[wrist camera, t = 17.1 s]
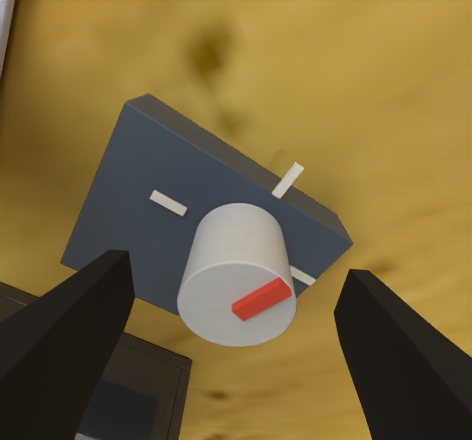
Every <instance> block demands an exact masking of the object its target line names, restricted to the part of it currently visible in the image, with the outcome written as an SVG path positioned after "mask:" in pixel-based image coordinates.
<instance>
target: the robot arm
mask: <svg viewBox="0 0 472 440" xmlns="http://www.w3.org/2000/svg"><path fill="white" fill-rule="evenodd" d="M14 2H15V0H0V79H1V73H2V68H3V62H4V57H5V51H6V46H7V40H8V35H9V30H10V24H11V19H12V13H13V8H14ZM134 299H135V291H134V284H133V277H132V270H131V263H130V256H129V251H125V250H113V249H110V250H108V251H107V252H105V253H104V254H102V255H101V256H99V257H98V258H96V259H95V260H93V261H92V262H91V263H89V264H88V265H86V266H85V267H84V268H82V269H81V270H79V271H78V272H77V273H75V274H74V275H72V276H71V277H69V278H68V279H66V280H65V281H64V282H62V283H61V284H59V285H58V286H56V287H55V288H53V289H52V290H51V291H49V292H47V293H46V294H44V295H43V296H41V297H40V298H38V299H37V300H35V301H33V302H32V303H30V304H29V305H27V306H26V307H24V308H22V309H21V310H19V311H18V312H16V313H15V314H13V315H11V316H10V317H8V318H6V319H5V320H3V321H1V322H0V440H74V439H75V436H76V434H77V431H78V429H79V426H80V423H81V421H82V418H83V415H84V413H85V411H86V408H87V406H88V404H89V401H90V399H91V397H92V395H93V393H94V391H95V389H96V386H97V384H98V382H99V380H100V378H101V376H102V374H103V372H104V370H105V368H106V366H107V364H108V362H109V360H110V358H111V355H112V353H113V351H114V349H115V347H116V345H117V343H118V341H119V339H120V337H121V335H122V332H123V330H124V328H125V326H126V323H127V320H128V317H129V315H130V312H131V309H132V305H133V302H134ZM334 317H335V322H336V327H337V332H338V337H339V341H340V345H341V348H342V351H343V354H344V357H345V360H346V363H347V365H348V368H349V371H350V374H351V377H352V380H353V383H354V386H355V389H356V391H357V394H358V397H359V400H360V403H361V406H362V409H363V412H364V414H365V417H366V421H367V424H368V427H369V430H370V434H371V437H372V440H472V358H471V357H470V356H469V355H467V354H466V353H465V352H464V351H462V350H461V349H460V348H459V347H457V346H456V345H455V344H454V343H452V342H451V341H450V340H449V339H447V338H446V337H445V336H444V335H443V334H441V333H440V332H439V331H438V330H437V329H435V328H434V327H433V326H432V325H431V324H429V323H428V322H427V321H426V320H425V319H424V318H422V317H421V316H420V315H419V314H418V313H417V312H415V311H414V310H413V309H412V308H411V307H410V306H409V305H408V304H406V303H405V302H404V301H403V300H402V299H401V298H400V297H399V296H397V295H396V294H395V293H394V292H393V291H392V290H391V289H390V288H388V287H387V286H386V285H385V284H384V283H383V282H382V281H380V280H379V279H378V278H377V277H376V276H375V275H373V274H372V273H371V272H370V271H368V270H358V269H349V272H348V275H347V277H346V280H345V283H344V286H343V288H342V291H341V294H340V297H339V299H338V302H337V305H336V308H335V310H334Z"/></svg>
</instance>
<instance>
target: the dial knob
mask: <svg viewBox="0 0 472 440" xmlns="http://www.w3.org/2000/svg"><path fill="white" fill-rule="evenodd" d="M177 306H178V311H179V314H180V316H181V318H182V320H183V322H184V323H185V325H186V326H187V327H188V328H189V329H190V330H191V331H192V332H194V333H195V334H196V335H198V336H199V337H201V338H203V339H205V340H207V341H210V342H212V343H216V344H219V345H224V346H231V347H246V346H254V345H258V344H262V343H265V342H267V341H270V340H272V339H274V338H276V337H277V336H279V335H280V334H282V333H283V332H284V331H285V330H286V329H287V328H288V327H289V325H290V324H291V322H292V321H293V319H294V316H295V313H296V309H297V300H296V295H295V290H294V286H293V281H292V276H291V271H290V266H289V262H288V257H287V252H286V247H285V242H284V238H283V233H282V230H281V227H280V225H279V223H278V222H277V221H276V219H275V218H274V217H273V216H272V215H271V214H270V213H268V212H267V211H265V210H264V209H262V208H260V207H257V206H254V205H251V204H245V203H231V204H226V205H223V206H220V207H218V208H216V209H214V210H212V211H211V212H209V213H208V214H207V215H206V216H205V217H204V218H203V219H202V220H201V222H200V223H199V225H198V228H197V230H196V234H195V237H194V241H193V244H192V248H191V251H190V255H189V258H188V262H187V265H186V268H185V272H184V275H183V279H182V282H181V286H180V289H179V293H178V297H177Z"/></svg>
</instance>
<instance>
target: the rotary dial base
mask: <svg viewBox="0 0 472 440" xmlns="http://www.w3.org/2000/svg"><path fill="white" fill-rule="evenodd" d="M303 169H304V168H303V167H302V166H301V165H299V164H298V163H296V162H295V163H294V165H293V166H292V167H291V169H290V170H289V171H288V172H287V174H286V175H285V176H284V177H283V179H281V178H279V177H278V176H276V175H274V174H273V173H271V172H270V171H268V170H267V169H265V168H264V167H262V166H261V165H259V164H257V163H256V162H254V161H253V160H251V159H250V158H248V157H247V156H245V155H243V154H242V153H240V152H239V151H237V150H236V149H234V148H233V147H231V146H229V145H228V144H226V143H225V142H223V141H222V140H220V139H219V138H217V137H216V136H214V135H212V134H211V133H209V132H208V131H206V130H205V129H203V128H202V127H200V126H198V125H197V124H195V123H194V122H192V121H191V120H189V119H188V118H186V117H184V116H183V115H181V114H180V113H178V112H177V111H175V110H174V109H172V108H171V107H169V106H167V105H166V104H164V103H163V102H161V101H160V100H158V99H157V98H155V97H153V96H152V95H150V94H146V95H143V96H140V97H137V98H135V99H132V100H129V101H126V102H125V103H124V106H123V108H122V111H121V113H120V116H119V118H118V121H117V123H116V126H115V128H114V131H113V133H112V135H111V138H110V140H109V143H108V145H107V148H106V150H105V153H104V155H103V158H102V160H101V163H100V165H99V168H98V170H97V172H96V175H95V177H94V180H93V182H92V185H91V187H90V190H89V192H88V195H87V197H86V200H85V202H84V205H83V207H82V209H81V212H80V214H79V217H78V219H77V222H76V224H75V227H74V229H73V232H72V234H71V237H70V239H69V242H68V244H67V246H66V249H65V251H64V254H63V256H62V259H61V261H60V263H61V264H63V265H65V266H67V267H70V268H72V269H74V270H76V271H79V270H81V269H82V268H84V267H85V266H86V265H88V264H89V263H91V262H92V261H93V260H95V259H96V258H98V257H99V256H101V255H102V254H104V253H105V252H107V251H108V250H110V249H113V250H125V251H129V256H130V263H131V270H132V277H133V284H134V291H135V297H137V298H140V299H142V300H144V301H146V302H149V303H151V304H153V305H155V306H158V307H160V308H162V309H164V310H167V311H169V312H171V313H173V314H176V315H178V316H180V314H179V311H178V306H177V297H178V293H179V289H180V286H181V282H182V279H183V275H184V272H185V268H186V265H187V262H188V258H189V255H190V251H191V248H192V244H193V241H194V237H195V234H196V230H197V228H198V225H199V223H200V222H201V220H202V219H203V218H204V217H205V216H206V215H207V214H208V213H209V212H211V211H212V210H214V209H216V208H218V207H220V206H223V205H226V204H231V203H245V204H251V205H254V206H257V207H260V208H262V209H264V210H265V211H267V212H268V213H270V214H271V215H272V216H273V217H274V218H275V219H276V221H277V222H278V223H279V225H280V227H281V230H282V233H283V238H284V242H285V247H286V252H287V257H288V262H289V266H290V271H291V276H292V281H293V286H294V290H295V295H296V298H297V297H298V296H299V295H300V294H301V293H302V292H303V291H304V290H305V289H306V288H307V287H308V286H309V285H310V286H311V285H312V284H313V283H314V282H315V280H316V279H317V278H318V277H319V276H320V275H321V274H322V273H323V272H324V271H325V270H326V269H327V268H328V267H329V266H331V265H332V264H333V263H334V262H335V261H336V260H337V259H338V258H339V257H340V256H341V255H342V254H343V253H344V252H345V251H346V250H347V249H348V248H350V247H351V246H352V245H353V242H352V240H351V239H350V237H349V235H348V233H347V232H346V230H345V228H344V227H343V225H342V223H341V221H340V220H339V218H338V216H337V214H335V213H333V212H332V211H330V210H329V209H327V208H326V207H324V206H323V205H321V204H319V203H318V202H316V201H315V200H313V199H312V198H310V197H309V196H307V195H306V194H304V193H302V192H301V191H299V190H298V189H296V188H295V187H293V186H292V185H291V184H292V183H293V182H294V181H295V179H296V178H297V177H298V176H299V174H300V173H301V172H302V171H303ZM180 317H181V316H180Z"/></svg>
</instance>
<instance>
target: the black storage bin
mask: <svg viewBox="0 0 472 440" xmlns="http://www.w3.org/2000/svg"><path fill="white" fill-rule="evenodd" d="M37 299H38V298H37V297H34V296H32V295H29V294H27V293H24V292H22V291H20V290H17V289H15V288H12V287H10V286H7V285H5V284H2V283H0V322H1V321H3V320H5V319H6V318H8V317H10V316H11V315H13V314H15V313H16V312H18V311H19V310H21V309H22V308H24V307H26V306H27V305H29V304H30V303H32V302H33V301H35V300H37ZM191 365H192V360H190V359H187V358H185V357H182V356H180V355H178V354H175V353H173V352H170V351H168V350H165V349H163V348H160V347H158V346H155V345H153V344H150V343H148V342H145V341H143V340H140V339H138V338H136V337H133V336H131V335H128V334H126V333H123V332H122V335H121V337H120V339H119V341H118V343H117V345H116V347H115V349H114V351H113V353H112V355H111V358H110V360H109V362H108V364H107V366H106V368H105V370H104V372H103V374H102V376H101V378H100V380H99V382H98V384H97V386H96V389H95V391H94V393H93V395H92V397H91V399H90V401H89V404H88V406H87V408H86V411H85V413H84V415H83V418H82V421H81V423H80V426H79V429H78V431H77V434H76V436H75V439H76V440H179V434H180V428H181V423H182V417H183V412H184V406H185V400H186V395H187V389H188V383H189V378H190V371H191Z"/></svg>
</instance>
